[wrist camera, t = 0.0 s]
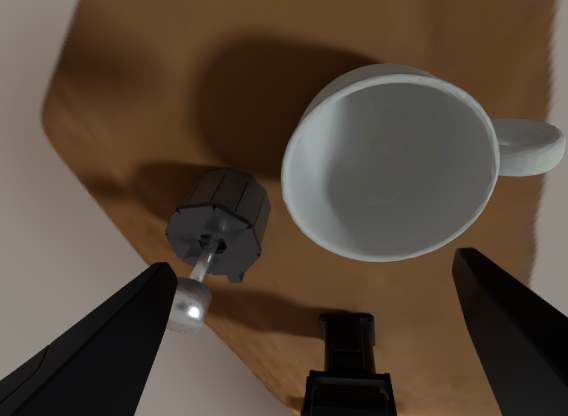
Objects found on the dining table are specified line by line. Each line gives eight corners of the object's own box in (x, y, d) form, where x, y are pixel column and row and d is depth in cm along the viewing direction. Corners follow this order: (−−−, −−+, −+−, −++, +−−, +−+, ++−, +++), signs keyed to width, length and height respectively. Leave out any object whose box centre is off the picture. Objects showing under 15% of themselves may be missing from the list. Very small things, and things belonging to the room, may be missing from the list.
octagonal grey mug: (281, 243, 29) (272, 288, 25) (216, 247, 31) (197, 289, 26) (258, 164, 24) (242, 203, 20) (181, 173, 26) (150, 211, 21)
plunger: (252, 250, 24) (224, 340, 18) (203, 252, 25) (161, 339, 19) (235, 207, 22) (197, 295, 16) (181, 212, 23) (125, 297, 17)
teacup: (298, 191, 25) (287, 259, 19) (289, 52, 19) (268, 84, 12) (471, 192, 23) (524, 269, 17) (530, 35, 16) (653, 64, 10)
